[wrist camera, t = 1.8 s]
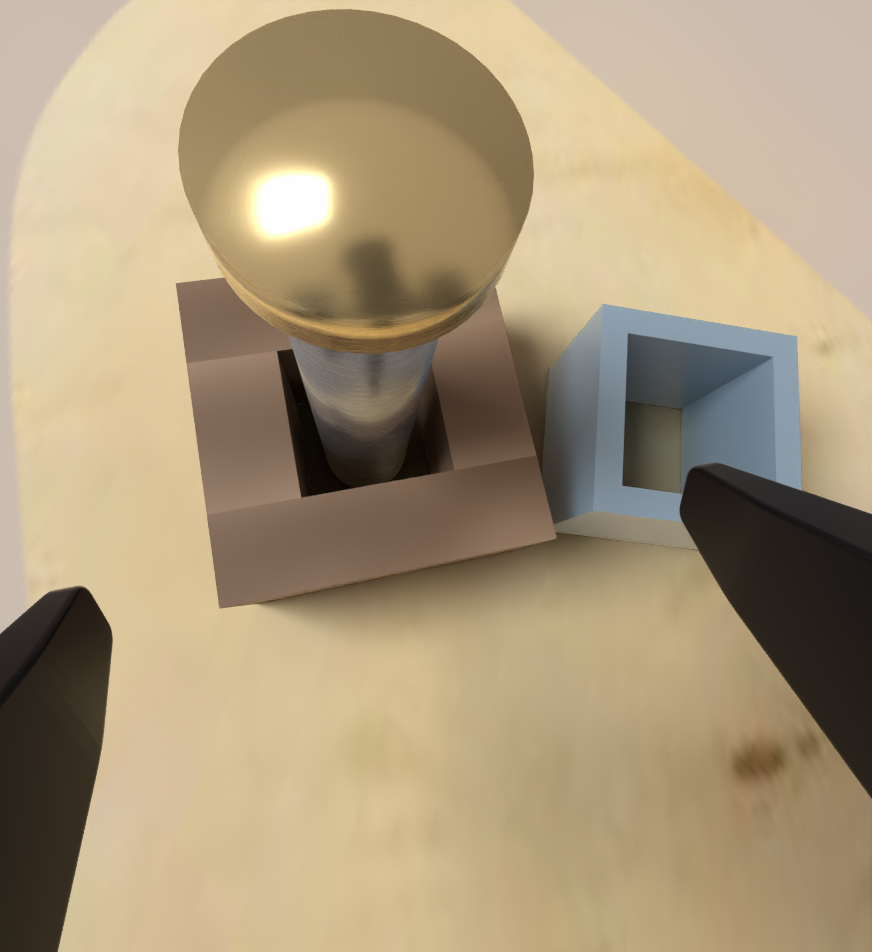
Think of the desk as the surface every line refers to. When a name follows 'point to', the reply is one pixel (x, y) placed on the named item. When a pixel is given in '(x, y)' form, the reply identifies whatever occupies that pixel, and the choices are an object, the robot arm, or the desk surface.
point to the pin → (357, 207)
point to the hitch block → (364, 508)
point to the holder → (669, 385)
